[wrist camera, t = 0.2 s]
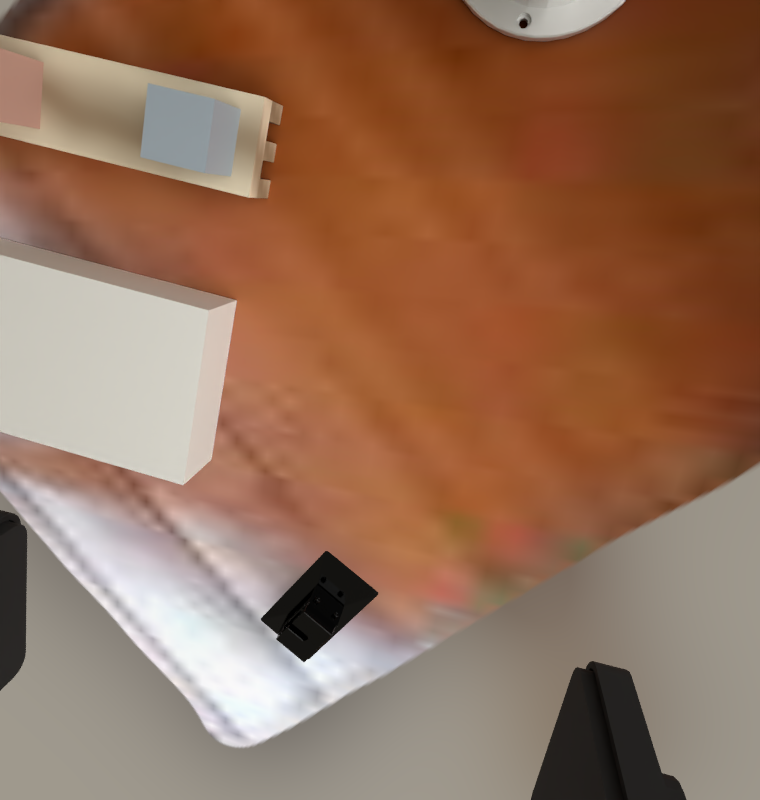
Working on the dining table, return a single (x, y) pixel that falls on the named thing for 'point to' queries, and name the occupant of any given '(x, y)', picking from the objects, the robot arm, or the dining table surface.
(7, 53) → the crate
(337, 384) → the dining table surface
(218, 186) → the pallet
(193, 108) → the block
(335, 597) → the black piece
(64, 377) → the dock
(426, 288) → the dining table surface
